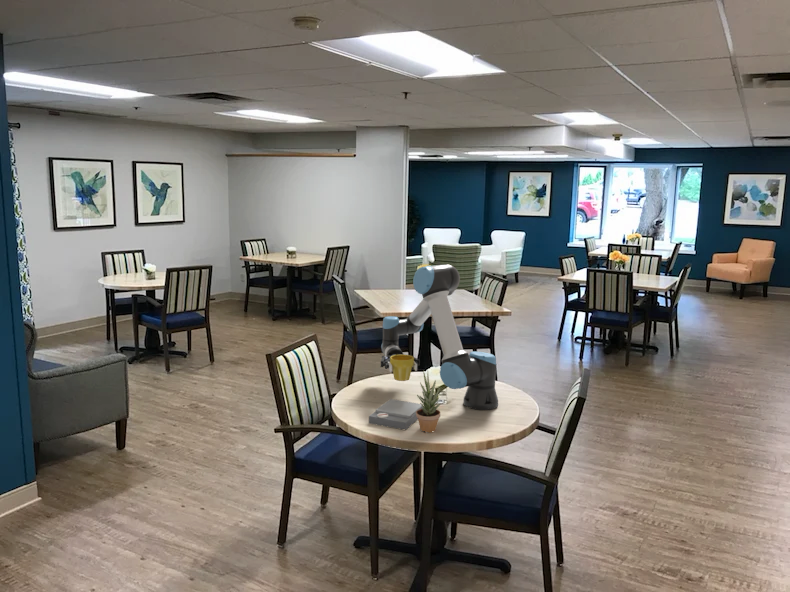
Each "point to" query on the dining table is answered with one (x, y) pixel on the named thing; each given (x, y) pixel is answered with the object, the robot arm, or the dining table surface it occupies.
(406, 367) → the plant pot
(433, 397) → the potted plant
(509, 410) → the dining table surface
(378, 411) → the kitchen scale
